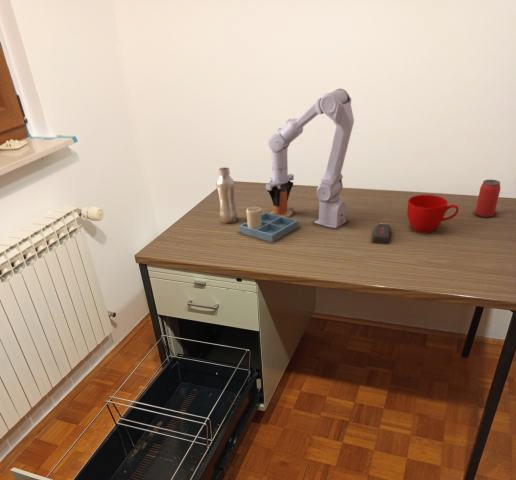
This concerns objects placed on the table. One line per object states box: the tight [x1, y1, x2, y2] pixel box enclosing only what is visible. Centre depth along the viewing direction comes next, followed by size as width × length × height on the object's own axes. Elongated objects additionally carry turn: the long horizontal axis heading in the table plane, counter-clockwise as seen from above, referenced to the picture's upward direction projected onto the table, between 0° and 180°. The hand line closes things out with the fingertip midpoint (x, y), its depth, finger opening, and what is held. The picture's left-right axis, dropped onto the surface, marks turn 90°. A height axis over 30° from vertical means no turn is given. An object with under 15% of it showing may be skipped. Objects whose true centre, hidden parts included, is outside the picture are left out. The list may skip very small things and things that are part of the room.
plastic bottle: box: [216, 167, 238, 224], centre depth 182 cm, size 6×7×20 cm
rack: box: [238, 212, 299, 242], centre depth 178 cm, size 15×15×3 cm
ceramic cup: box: [406, 194, 460, 234], centre depth 170 cm, size 13×17×10 cm
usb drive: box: [372, 223, 392, 244], centre depth 170 cm, size 5×12×3 cm, turn 165°
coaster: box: [269, 208, 294, 218], centre depth 191 cm, size 9×9×1 cm
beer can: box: [474, 179, 501, 218], centre depth 178 cm, size 7×7×12 cm
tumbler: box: [273, 187, 288, 213], centre depth 188 cm, size 5×5×8 cm
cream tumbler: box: [245, 206, 262, 229], centre depth 176 cm, size 5×5×8 cm
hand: (280, 203), depth 189 cm, fingers closed on tumbler, 5 cm apart
